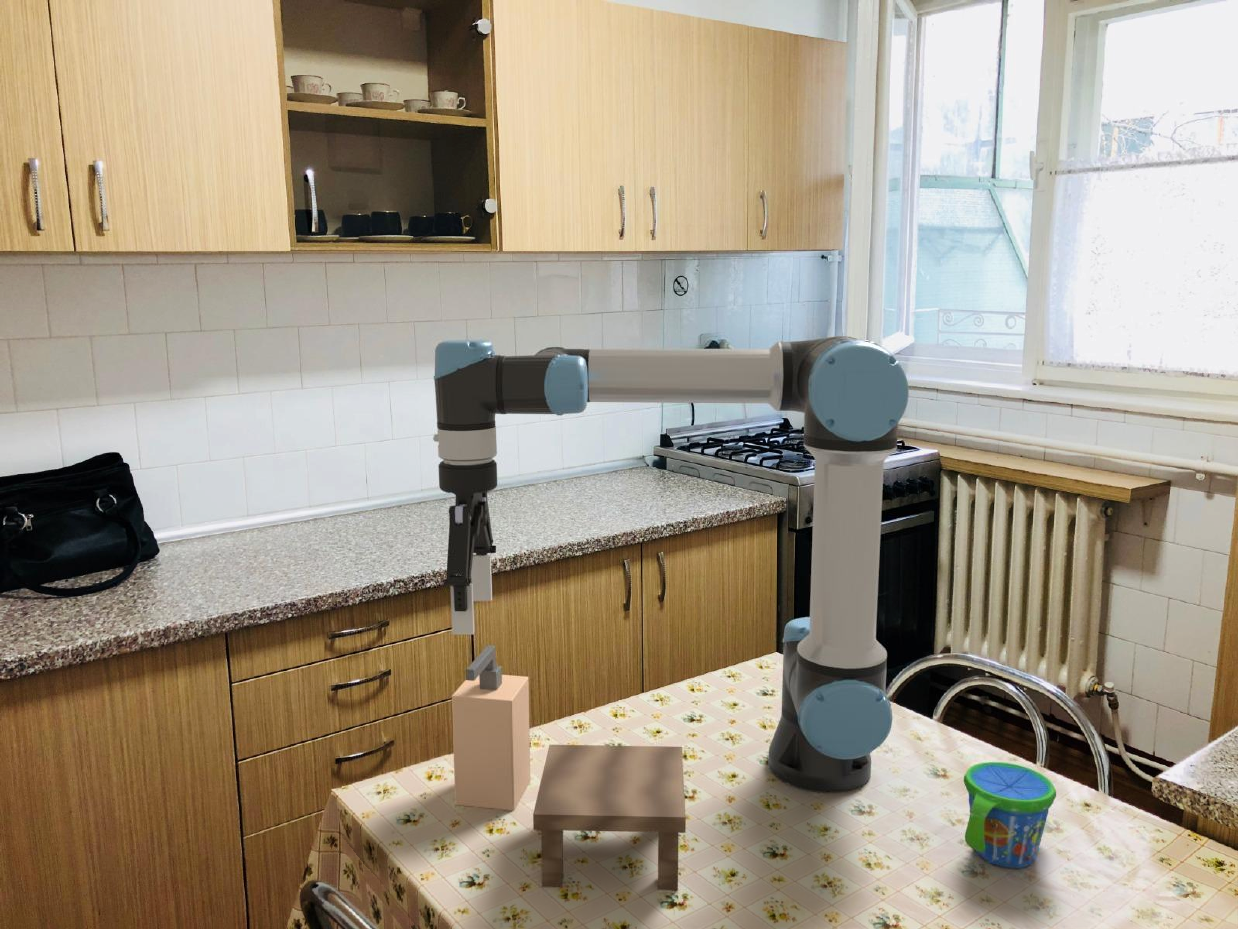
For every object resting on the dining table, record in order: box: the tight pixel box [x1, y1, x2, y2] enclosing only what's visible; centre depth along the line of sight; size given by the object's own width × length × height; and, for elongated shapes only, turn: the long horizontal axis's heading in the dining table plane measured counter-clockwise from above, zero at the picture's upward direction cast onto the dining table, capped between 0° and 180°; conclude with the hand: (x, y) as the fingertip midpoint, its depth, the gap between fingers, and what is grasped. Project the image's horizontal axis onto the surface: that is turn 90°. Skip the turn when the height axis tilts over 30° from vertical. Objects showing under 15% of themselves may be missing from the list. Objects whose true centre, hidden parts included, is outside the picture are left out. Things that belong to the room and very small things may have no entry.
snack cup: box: [963, 761, 1057, 869], centre depth 126 cm, size 16×10×10 cm
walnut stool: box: [532, 744, 687, 891], centre depth 127 cm, size 18×18×10 cm
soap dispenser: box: [451, 645, 531, 811], centre depth 138 cm, size 13×9×22 cm
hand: (473, 616), depth 133 cm, fingers open, 13 cm apart
